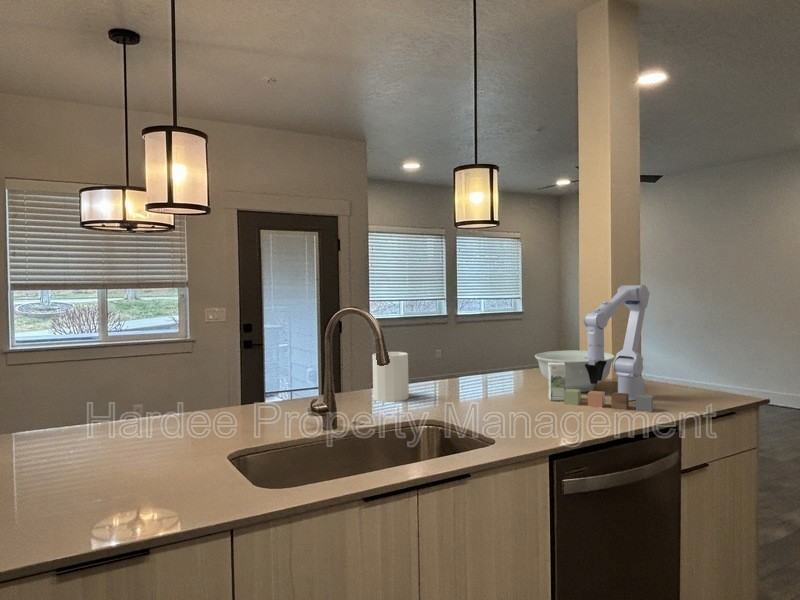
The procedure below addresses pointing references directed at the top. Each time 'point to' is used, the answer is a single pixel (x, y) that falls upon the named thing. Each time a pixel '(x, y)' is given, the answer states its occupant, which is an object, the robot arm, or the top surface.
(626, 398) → the walnut block
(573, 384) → the bowl
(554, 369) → the syrup box
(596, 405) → the terracotta block
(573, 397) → the olive block
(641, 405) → the slate block
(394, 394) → the container
